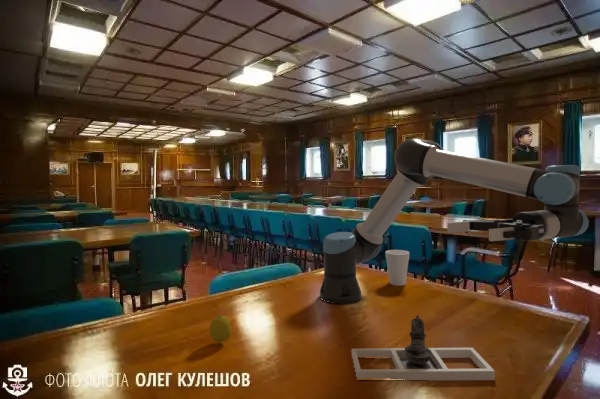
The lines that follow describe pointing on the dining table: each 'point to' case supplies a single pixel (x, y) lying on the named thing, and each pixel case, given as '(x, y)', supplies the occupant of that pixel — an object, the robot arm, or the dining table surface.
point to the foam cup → (397, 266)
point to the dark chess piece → (417, 347)
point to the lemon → (220, 328)
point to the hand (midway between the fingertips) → (467, 231)
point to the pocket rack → (423, 374)
